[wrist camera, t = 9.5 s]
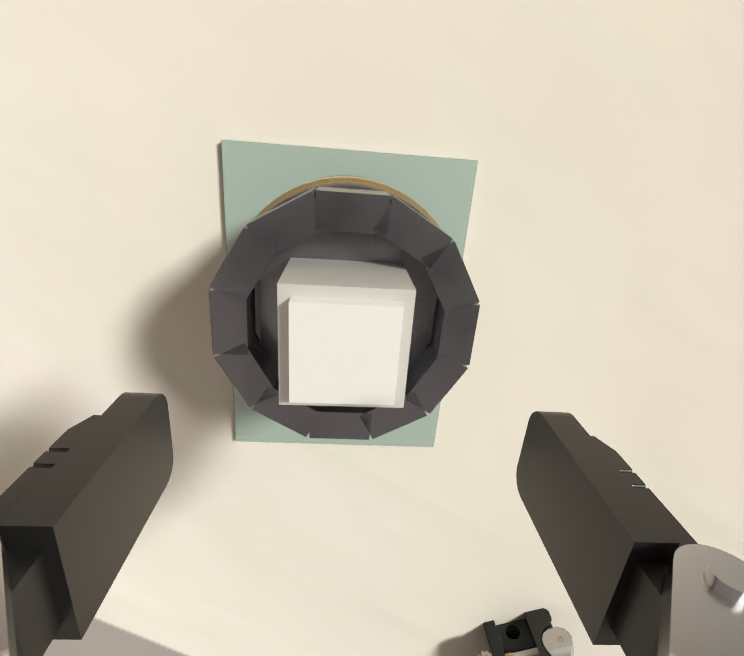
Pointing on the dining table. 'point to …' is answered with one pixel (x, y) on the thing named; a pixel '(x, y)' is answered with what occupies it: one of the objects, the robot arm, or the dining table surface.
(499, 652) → the scope
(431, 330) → the grey faceted ring
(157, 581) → the dining table surface
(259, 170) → the mat
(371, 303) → the white stepped cube
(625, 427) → the dining table surface
